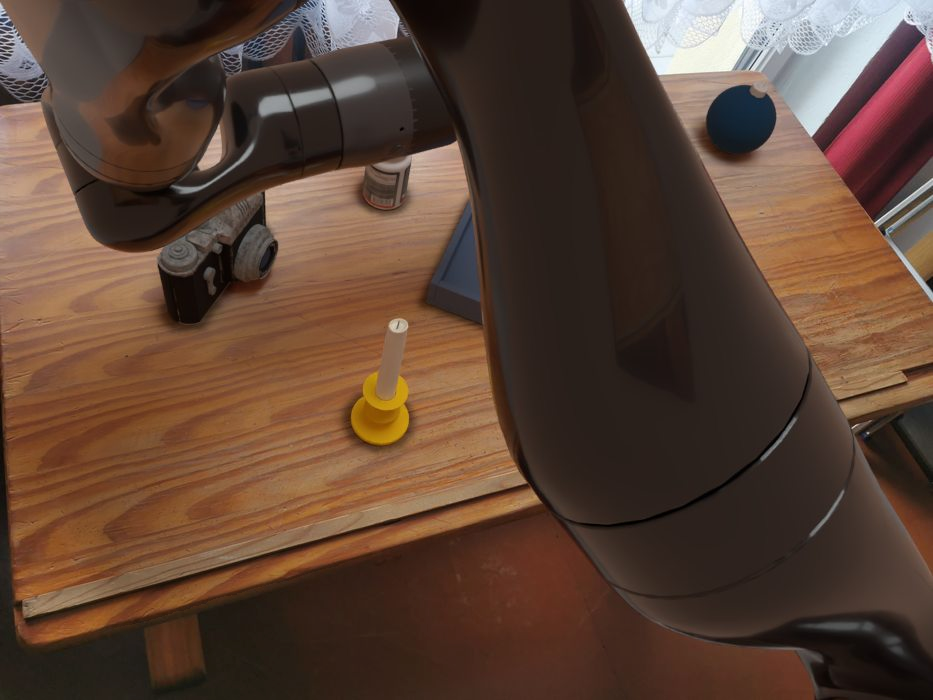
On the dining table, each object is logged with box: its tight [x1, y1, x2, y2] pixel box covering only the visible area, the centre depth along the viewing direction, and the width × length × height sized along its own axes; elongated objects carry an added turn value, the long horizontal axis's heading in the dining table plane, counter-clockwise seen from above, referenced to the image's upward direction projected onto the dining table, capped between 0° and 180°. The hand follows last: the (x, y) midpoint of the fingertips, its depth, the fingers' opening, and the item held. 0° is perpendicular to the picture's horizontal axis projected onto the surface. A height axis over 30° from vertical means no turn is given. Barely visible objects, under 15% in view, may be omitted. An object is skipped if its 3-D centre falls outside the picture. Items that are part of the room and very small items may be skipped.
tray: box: [425, 199, 483, 326], centre depth 81 cm, size 18×16×3 cm
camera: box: [156, 191, 279, 326], centre depth 72 cm, size 15×7×10 cm, turn 160°
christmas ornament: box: [705, 81, 777, 155], centre depth 97 cm, size 8×8×10 cm
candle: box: [350, 317, 410, 447], centre depth 64 cm, size 5×5×16 cm
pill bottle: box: [362, 155, 413, 211], centre depth 82 cm, size 5×5×8 cm
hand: (580, 58), depth 59 cm, fingers closed on container, 4 cm apart
